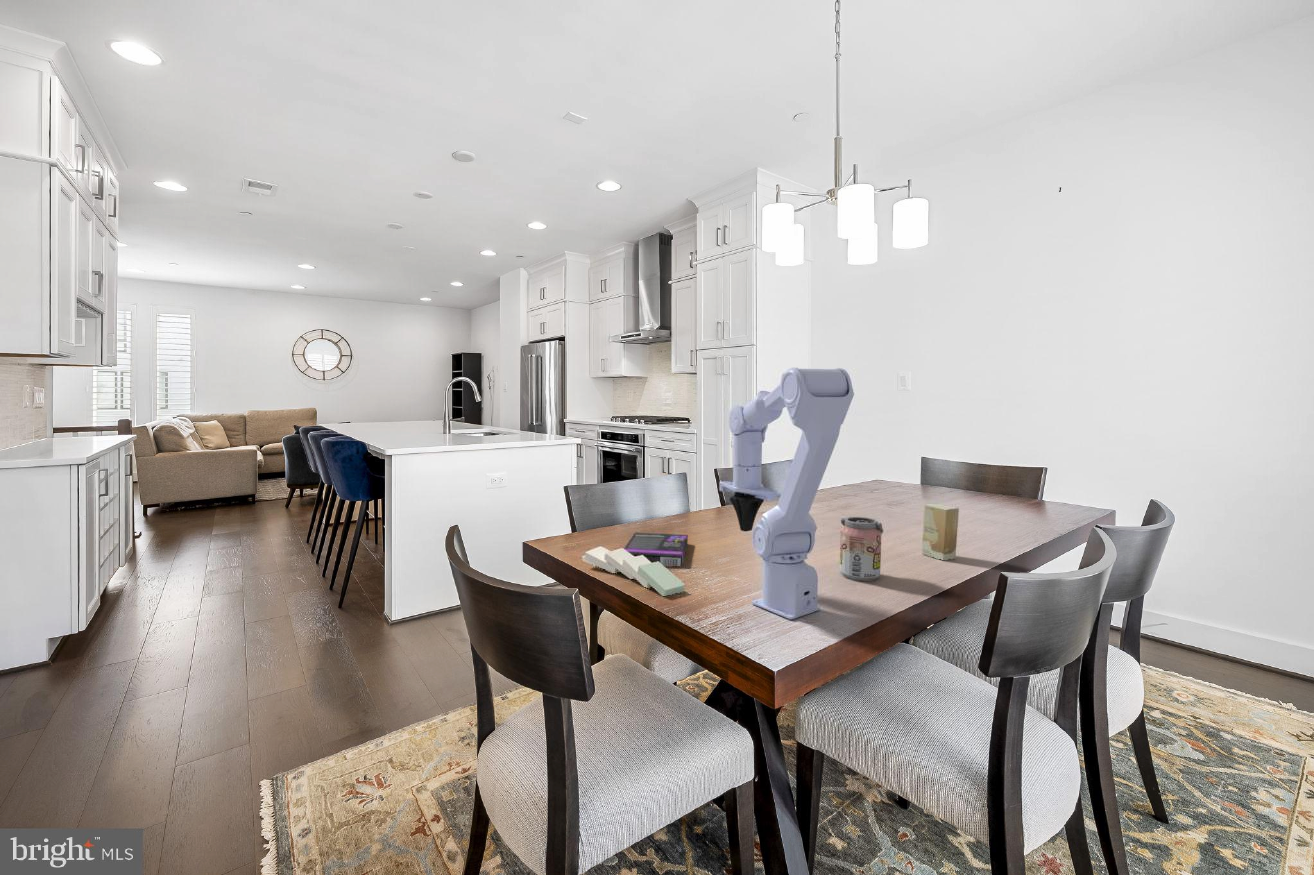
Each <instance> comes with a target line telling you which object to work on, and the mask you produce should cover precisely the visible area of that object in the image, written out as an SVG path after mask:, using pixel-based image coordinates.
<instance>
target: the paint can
mask: <svg viewBox="0 0 1314 875" xmlns="http://www.w3.org/2000/svg"><path fill="white" fill-rule="evenodd" d="M840 523H841V525H843V526H842V527H841V530H840V542H839V543H840V544H839V547H840V548H839V571H840V573H841V575H842V576H843V577H844V578H846V579H850V580H851V581H852V580H853V581H859V582H873V581H876V580H877V579H878V578H879V577H880V576H881V565H882V564H881V563H882V562H881V559H882V534H883V533H884V528H883V523H882V522H879V521H878V520H876V519H875V518H871V517H864V516H849V517H848V516H847V517H846V518H841V520H840Z"/></svg>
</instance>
